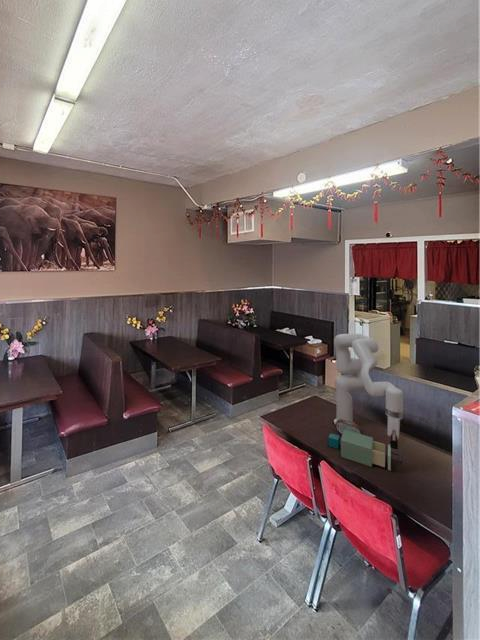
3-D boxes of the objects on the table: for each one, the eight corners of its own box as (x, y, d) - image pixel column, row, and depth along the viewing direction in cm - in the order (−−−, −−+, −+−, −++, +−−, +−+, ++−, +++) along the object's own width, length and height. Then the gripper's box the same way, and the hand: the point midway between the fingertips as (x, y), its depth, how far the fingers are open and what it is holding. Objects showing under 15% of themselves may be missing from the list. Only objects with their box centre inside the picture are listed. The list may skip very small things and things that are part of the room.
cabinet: (373, 454, 167) (373, 437, 167) (371, 467, 156) (371, 449, 157) (343, 445, 175) (343, 429, 175) (340, 456, 164) (340, 439, 165)
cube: (330, 441, 178) (330, 433, 178) (339, 444, 176) (339, 435, 176) (328, 445, 174) (328, 437, 174) (338, 448, 171) (338, 440, 171)
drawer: (402, 461, 159) (401, 447, 159) (402, 474, 150) (402, 459, 150) (362, 449, 169) (362, 436, 169) (360, 460, 160) (360, 446, 160)
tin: (363, 440, 180) (363, 425, 180) (361, 442, 178) (361, 428, 178) (336, 430, 190) (336, 416, 190) (335, 432, 188) (334, 418, 188)
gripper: (385, 404, 165) (385, 438, 165) (385, 416, 153) (384, 452, 153) (402, 408, 161) (402, 442, 161) (403, 421, 148) (403, 458, 148)
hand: (393, 447), depth 157 cm, fingers closed
